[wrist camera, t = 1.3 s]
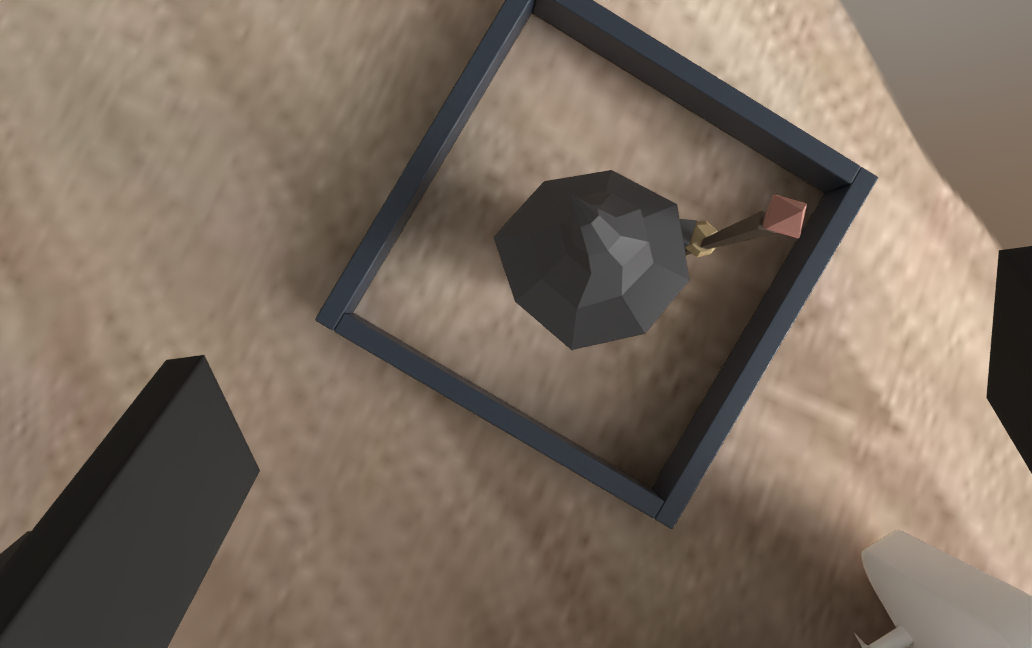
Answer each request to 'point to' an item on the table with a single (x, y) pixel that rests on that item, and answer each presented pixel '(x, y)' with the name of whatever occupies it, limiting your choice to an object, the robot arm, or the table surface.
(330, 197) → the table surface
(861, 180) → the dark grey square frame
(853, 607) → the table surface
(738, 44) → the table surface
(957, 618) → the cable organizer
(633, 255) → the wizard figurine
